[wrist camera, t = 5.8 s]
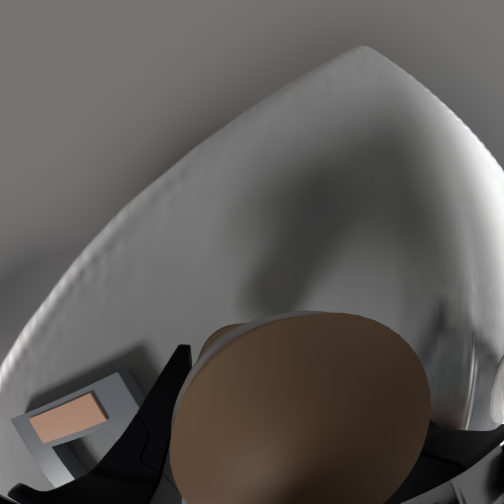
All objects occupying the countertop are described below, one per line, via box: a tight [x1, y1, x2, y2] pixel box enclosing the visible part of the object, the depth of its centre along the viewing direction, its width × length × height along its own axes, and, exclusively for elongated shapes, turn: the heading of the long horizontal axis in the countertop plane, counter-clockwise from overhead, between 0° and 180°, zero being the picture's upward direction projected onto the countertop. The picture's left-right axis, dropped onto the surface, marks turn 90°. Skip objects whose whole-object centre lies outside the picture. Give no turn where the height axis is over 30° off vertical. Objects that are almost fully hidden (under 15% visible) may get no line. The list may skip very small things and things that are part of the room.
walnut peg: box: [170, 311, 431, 504], centre depth 10 cm, size 5×5×13 cm
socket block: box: [11, 368, 187, 504], centre depth 15 cm, size 14×14×3 cm
